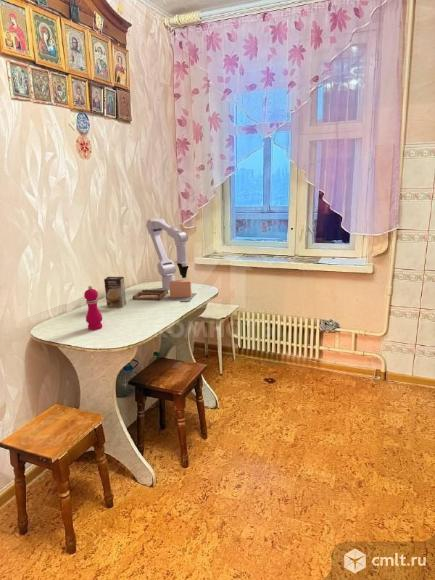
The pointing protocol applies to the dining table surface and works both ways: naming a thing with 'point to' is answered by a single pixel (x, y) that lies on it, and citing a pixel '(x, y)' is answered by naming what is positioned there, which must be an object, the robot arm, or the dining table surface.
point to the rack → (151, 292)
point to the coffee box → (115, 292)
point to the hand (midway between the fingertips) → (183, 276)
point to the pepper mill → (92, 309)
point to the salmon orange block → (180, 288)
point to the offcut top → (148, 296)
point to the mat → (181, 298)
